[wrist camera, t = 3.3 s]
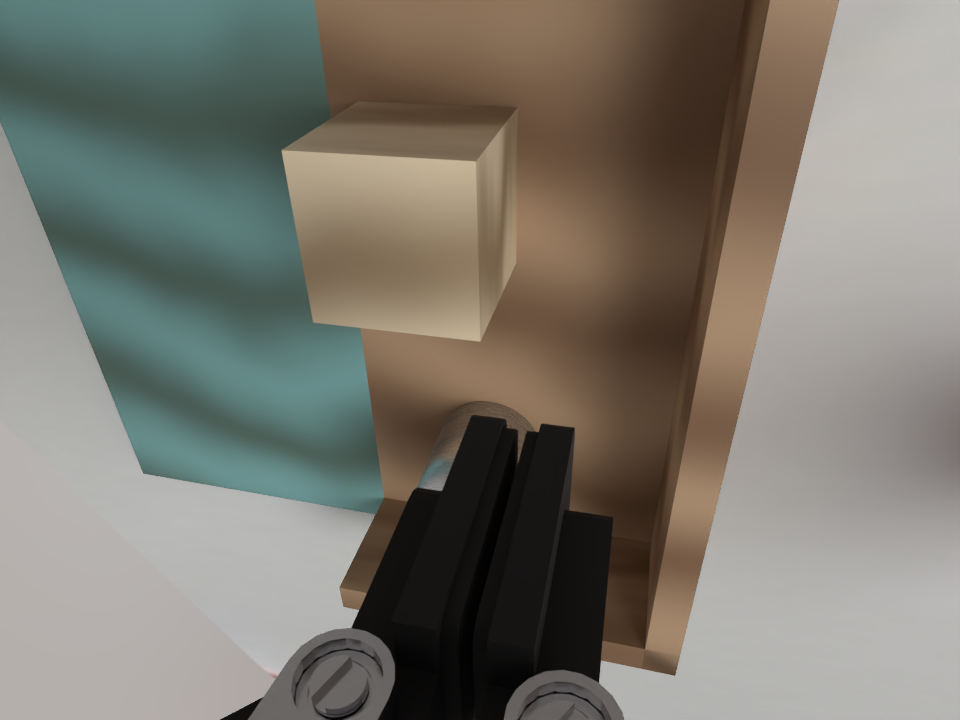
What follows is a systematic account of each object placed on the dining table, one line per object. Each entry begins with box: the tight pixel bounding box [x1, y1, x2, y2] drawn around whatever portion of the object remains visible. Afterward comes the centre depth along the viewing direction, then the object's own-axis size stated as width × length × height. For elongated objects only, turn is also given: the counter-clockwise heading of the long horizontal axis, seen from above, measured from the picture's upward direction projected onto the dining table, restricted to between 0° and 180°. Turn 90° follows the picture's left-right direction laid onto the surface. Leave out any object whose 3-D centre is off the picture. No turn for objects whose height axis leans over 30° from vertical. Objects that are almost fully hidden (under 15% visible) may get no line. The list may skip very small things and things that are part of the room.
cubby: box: [0, 0, 839, 676], centre depth 23 cm, size 24×26×6 cm
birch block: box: [281, 101, 518, 342], centre depth 20 cm, size 5×5×5 cm
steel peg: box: [417, 402, 536, 491], centre depth 25 cm, size 4×4×6 cm
